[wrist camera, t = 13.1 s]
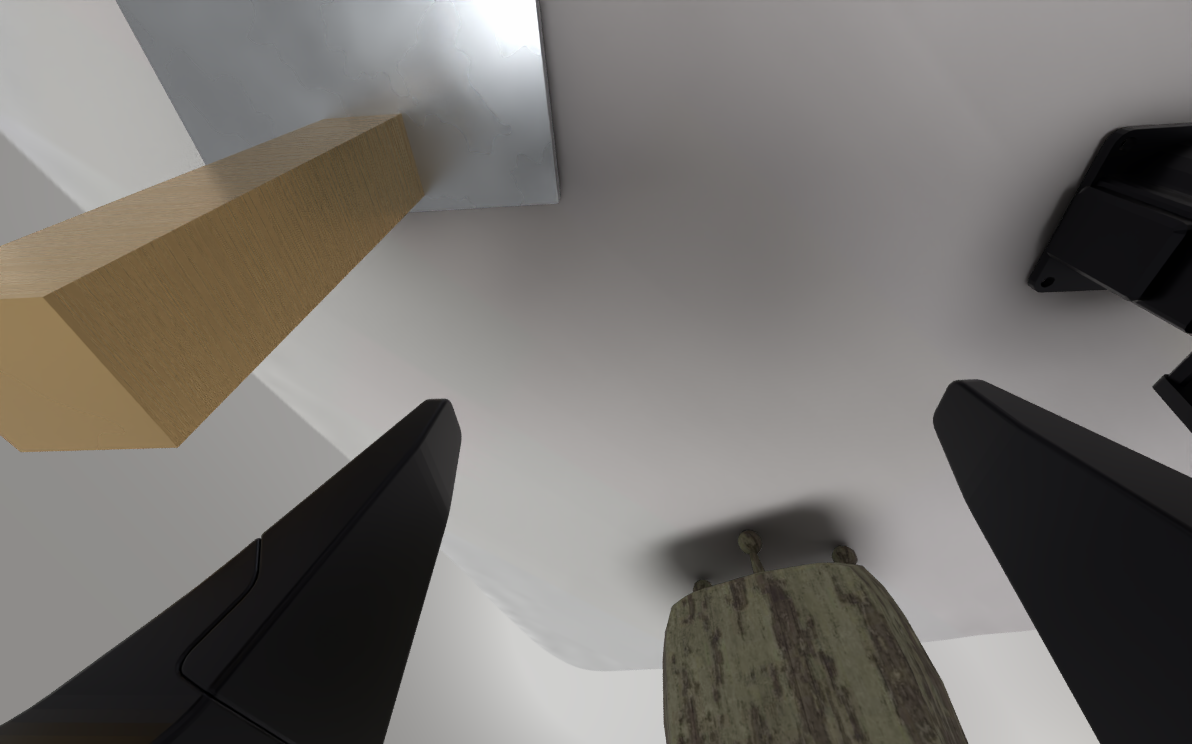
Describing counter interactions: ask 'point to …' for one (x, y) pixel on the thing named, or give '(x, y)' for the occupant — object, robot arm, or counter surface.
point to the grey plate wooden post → (263, 200)
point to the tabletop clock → (800, 661)
